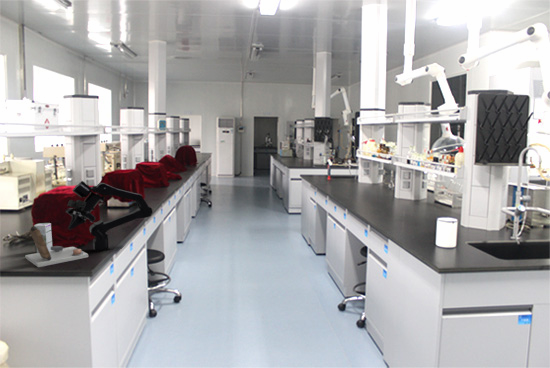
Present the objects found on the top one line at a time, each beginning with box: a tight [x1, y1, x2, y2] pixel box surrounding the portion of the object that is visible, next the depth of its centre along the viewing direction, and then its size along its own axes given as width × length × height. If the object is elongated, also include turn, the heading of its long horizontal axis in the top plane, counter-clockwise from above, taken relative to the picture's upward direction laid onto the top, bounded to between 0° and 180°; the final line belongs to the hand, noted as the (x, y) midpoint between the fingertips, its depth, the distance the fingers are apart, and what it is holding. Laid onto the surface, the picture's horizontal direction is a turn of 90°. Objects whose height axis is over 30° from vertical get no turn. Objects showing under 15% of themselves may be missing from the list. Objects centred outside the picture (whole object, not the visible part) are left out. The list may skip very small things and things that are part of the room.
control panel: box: [24, 246, 89, 268], centre depth 198 cm, size 22×20×2 cm
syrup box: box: [33, 222, 53, 253], centre depth 208 cm, size 6×6×14 cm
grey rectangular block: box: [51, 245, 64, 251], centre depth 204 cm, size 4×3×2 cm
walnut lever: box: [28, 225, 51, 260], centre depth 188 cm, size 3×6×17 cm, turn 53°
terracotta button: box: [73, 248, 82, 255], centre depth 198 cm, size 4×4×2 cm
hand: (69, 228), depth 199 cm, fingers closed
